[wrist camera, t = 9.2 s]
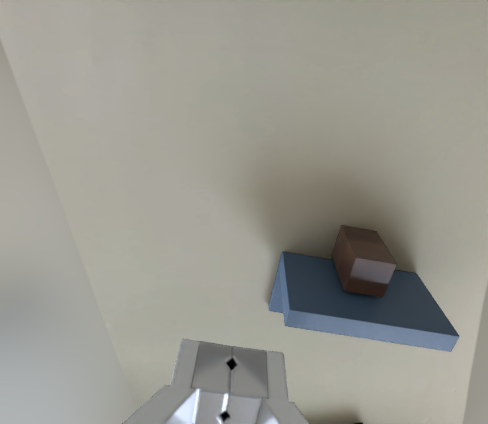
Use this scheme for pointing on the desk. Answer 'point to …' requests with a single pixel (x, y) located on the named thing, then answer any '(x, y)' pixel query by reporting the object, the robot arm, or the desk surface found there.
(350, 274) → the walnut block
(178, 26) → the desk surface
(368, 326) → the bookend
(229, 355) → the robot arm
